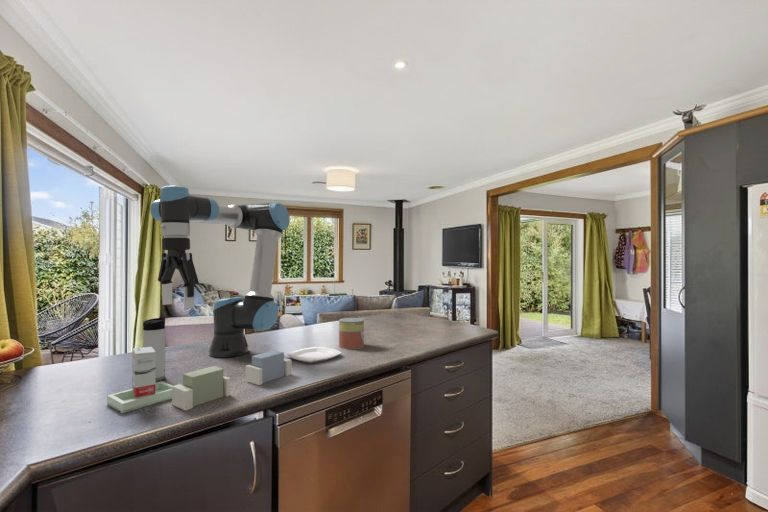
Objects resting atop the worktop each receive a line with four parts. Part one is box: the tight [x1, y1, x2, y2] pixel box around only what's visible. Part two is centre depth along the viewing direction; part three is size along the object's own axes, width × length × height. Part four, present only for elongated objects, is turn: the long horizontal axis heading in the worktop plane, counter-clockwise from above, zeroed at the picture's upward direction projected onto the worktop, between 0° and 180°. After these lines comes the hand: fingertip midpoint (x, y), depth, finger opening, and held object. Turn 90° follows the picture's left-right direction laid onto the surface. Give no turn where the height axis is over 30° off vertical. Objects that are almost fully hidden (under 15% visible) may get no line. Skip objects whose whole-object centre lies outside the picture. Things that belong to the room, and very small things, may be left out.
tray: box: [107, 380, 174, 414], centre depth 103 cm, size 10×14×2 cm
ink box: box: [131, 346, 157, 398], centre depth 103 cm, size 8×5×12 cm, turn 39°
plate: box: [286, 345, 343, 364], centre depth 147 cm, size 19×19×2 cm
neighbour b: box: [251, 349, 285, 384], centre depth 122 cm, size 5×9×8 cm, turn 145°
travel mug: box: [142, 316, 166, 382], centre depth 121 cm, size 6×7×20 cm
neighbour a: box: [182, 365, 224, 407], centre depth 104 cm, size 5×9×8 cm, turn 145°
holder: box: [171, 357, 292, 412], centre depth 113 cm, size 7×36×5 cm, turn 145°
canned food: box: [338, 317, 365, 350], centre depth 165 cm, size 11×11×12 cm
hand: (178, 306), depth 113 cm, fingers open, 13 cm apart
